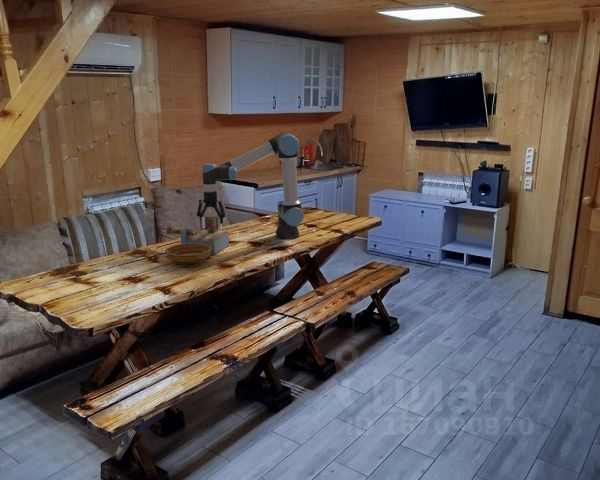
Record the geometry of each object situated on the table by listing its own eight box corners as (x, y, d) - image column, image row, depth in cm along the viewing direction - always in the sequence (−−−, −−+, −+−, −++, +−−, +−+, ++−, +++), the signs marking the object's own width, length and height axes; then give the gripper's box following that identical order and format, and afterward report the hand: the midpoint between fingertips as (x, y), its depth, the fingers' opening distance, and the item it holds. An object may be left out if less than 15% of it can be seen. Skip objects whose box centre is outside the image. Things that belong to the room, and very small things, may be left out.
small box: (218, 231, 353) (218, 216, 350) (216, 234, 346) (215, 218, 344) (203, 231, 354) (202, 216, 351) (200, 234, 347) (199, 218, 345)
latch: (192, 233, 309) (192, 228, 308) (190, 234, 306) (190, 229, 305) (169, 232, 313) (169, 226, 312) (166, 233, 310) (166, 228, 309)
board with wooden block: (227, 233, 316) (226, 217, 314) (213, 241, 298) (212, 225, 296) (203, 231, 320) (202, 216, 318) (188, 239, 302) (187, 223, 300)
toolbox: (228, 246, 318) (227, 226, 315) (214, 255, 300) (213, 234, 297) (195, 243, 324) (194, 224, 321) (179, 252, 306) (177, 232, 302)
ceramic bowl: (179, 274, 267) (178, 259, 265) (152, 265, 283) (151, 250, 281) (225, 261, 288) (224, 247, 286) (198, 253, 304) (197, 239, 302)
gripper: (230, 190, 308) (232, 228, 313) (195, 189, 314) (197, 226, 319) (225, 192, 301) (227, 231, 306) (189, 191, 307) (191, 229, 312)
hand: (211, 228), depth 313 cm, fingers open, 10 cm apart
